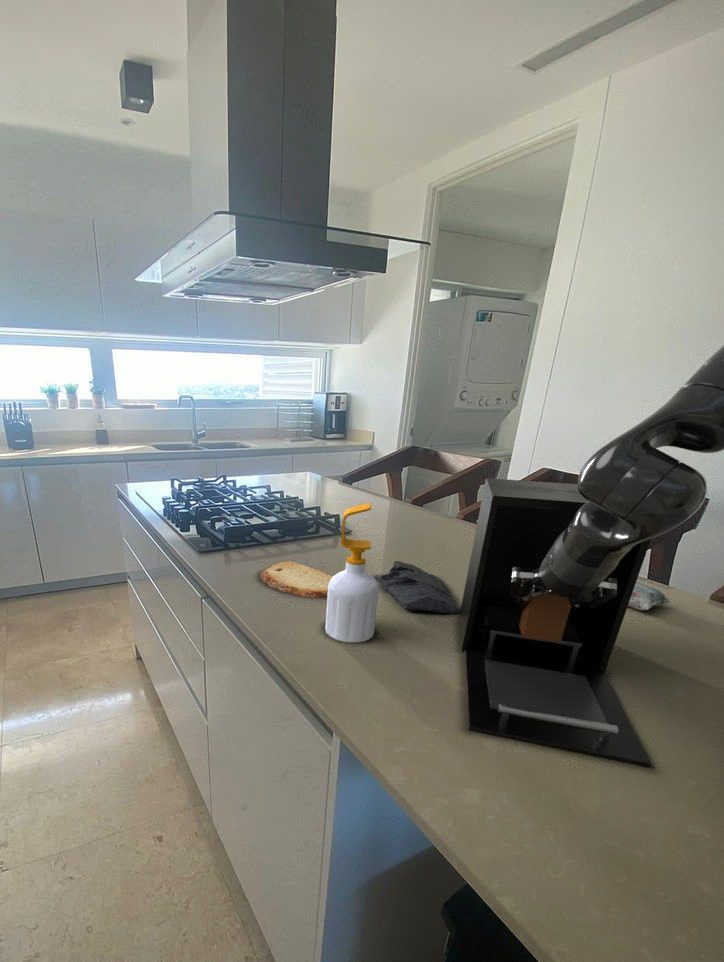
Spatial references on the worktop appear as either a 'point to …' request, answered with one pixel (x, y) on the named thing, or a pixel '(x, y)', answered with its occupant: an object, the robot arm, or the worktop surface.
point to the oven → (537, 664)
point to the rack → (508, 625)
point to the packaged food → (646, 597)
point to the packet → (545, 618)
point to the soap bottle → (352, 592)
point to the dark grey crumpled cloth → (417, 589)
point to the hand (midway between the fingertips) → (543, 605)
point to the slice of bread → (297, 579)
